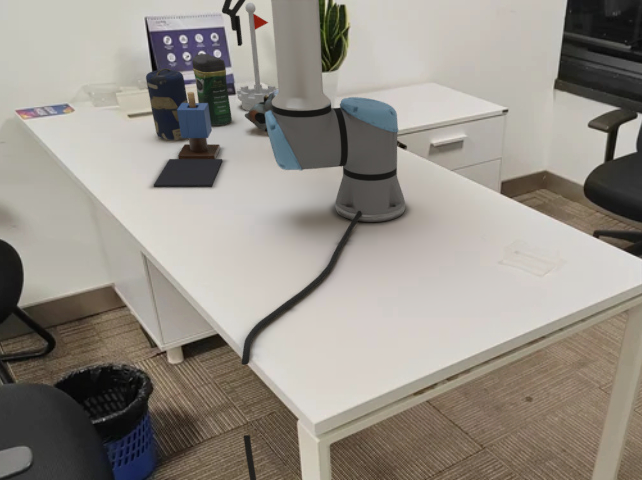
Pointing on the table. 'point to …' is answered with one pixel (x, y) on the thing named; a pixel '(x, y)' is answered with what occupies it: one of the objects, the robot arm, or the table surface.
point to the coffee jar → (212, 87)
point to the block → (194, 120)
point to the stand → (198, 143)
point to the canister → (166, 101)
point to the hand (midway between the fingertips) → (267, 45)
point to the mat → (189, 173)
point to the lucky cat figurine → (261, 111)
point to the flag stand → (257, 93)
